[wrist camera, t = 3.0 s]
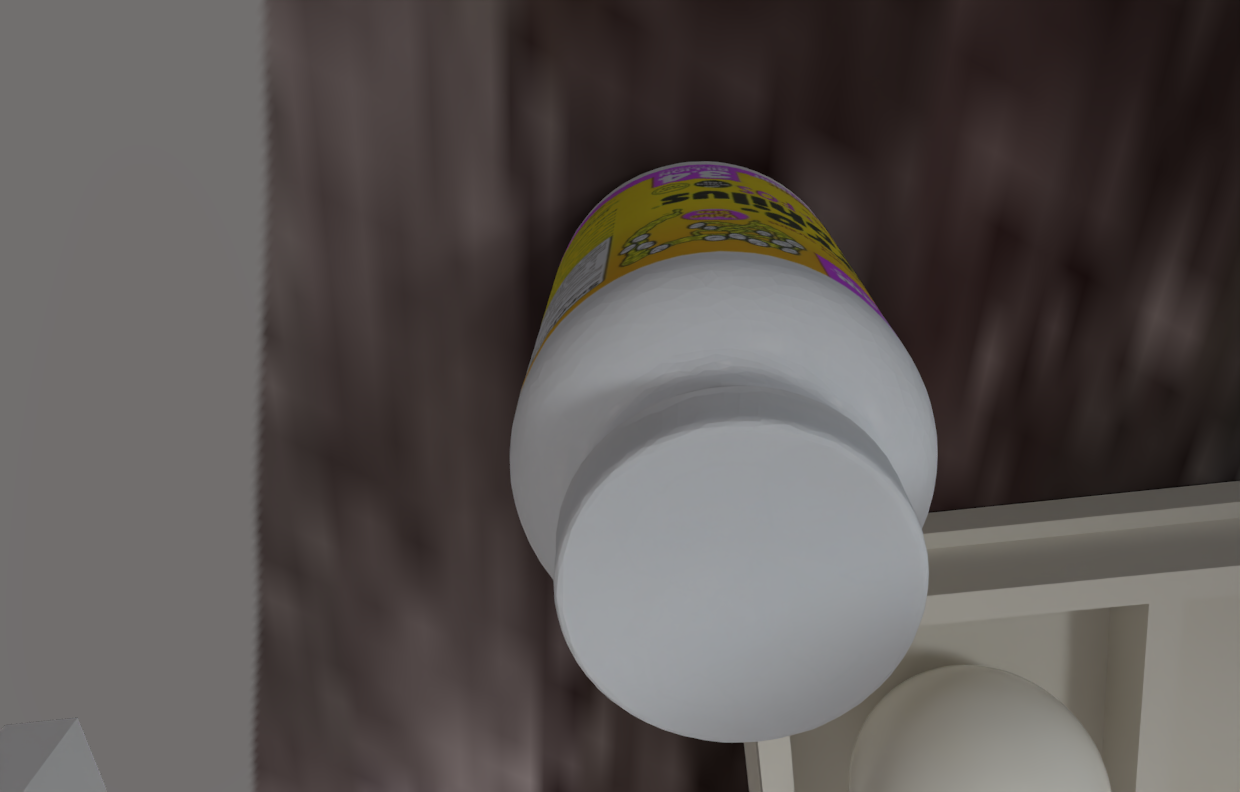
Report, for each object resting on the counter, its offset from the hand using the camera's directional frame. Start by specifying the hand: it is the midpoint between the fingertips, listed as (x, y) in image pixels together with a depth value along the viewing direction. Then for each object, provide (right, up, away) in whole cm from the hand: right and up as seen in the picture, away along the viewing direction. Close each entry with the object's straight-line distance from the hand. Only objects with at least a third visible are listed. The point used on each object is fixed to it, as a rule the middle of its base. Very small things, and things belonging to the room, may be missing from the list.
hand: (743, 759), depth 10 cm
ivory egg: (+7, -5, +18) cm, 20 cm away
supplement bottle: (+1, +6, +15) cm, 16 cm away
